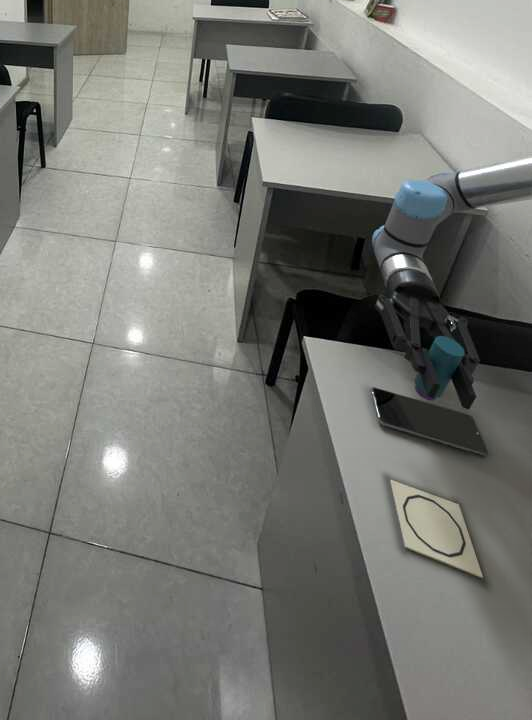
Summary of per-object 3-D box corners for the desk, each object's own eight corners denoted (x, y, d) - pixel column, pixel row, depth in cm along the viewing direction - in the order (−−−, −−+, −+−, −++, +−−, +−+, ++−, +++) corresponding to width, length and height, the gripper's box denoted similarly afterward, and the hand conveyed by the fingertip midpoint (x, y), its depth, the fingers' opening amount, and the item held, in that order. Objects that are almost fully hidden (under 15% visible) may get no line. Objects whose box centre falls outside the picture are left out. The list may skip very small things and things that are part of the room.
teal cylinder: (435, 386, 75) (459, 340, 71) (442, 406, 72) (468, 359, 68) (409, 378, 76) (432, 332, 72) (414, 398, 73) (439, 351, 69)
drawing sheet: (458, 505, 71) (459, 504, 70) (482, 578, 63) (483, 577, 63) (389, 480, 73) (390, 479, 73) (404, 547, 65) (405, 546, 65)
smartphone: (370, 385, 87) (472, 414, 83) (368, 389, 87) (470, 418, 83) (380, 422, 81) (491, 456, 76) (378, 426, 81) (489, 460, 77)
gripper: (454, 316, 86) (511, 437, 66) (353, 288, 91) (376, 393, 71) (471, 284, 83) (535, 400, 63) (365, 256, 88) (393, 356, 68)
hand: (451, 396), depth 67 cm, fingers closed on teal cylinder, 4 cm apart
